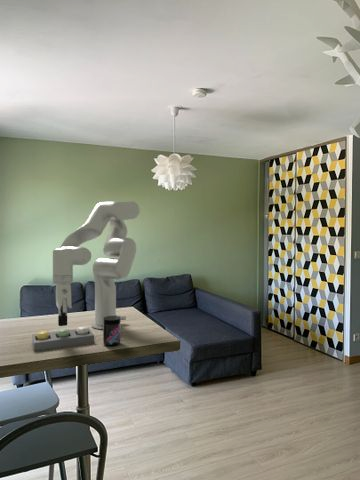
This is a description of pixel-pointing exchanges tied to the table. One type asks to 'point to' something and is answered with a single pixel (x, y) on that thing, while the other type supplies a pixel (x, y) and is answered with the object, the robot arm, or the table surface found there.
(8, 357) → the table surface
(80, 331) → the white button
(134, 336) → the table surface
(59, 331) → the green button
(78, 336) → the button panel
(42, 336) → the mustard button
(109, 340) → the supplement container
